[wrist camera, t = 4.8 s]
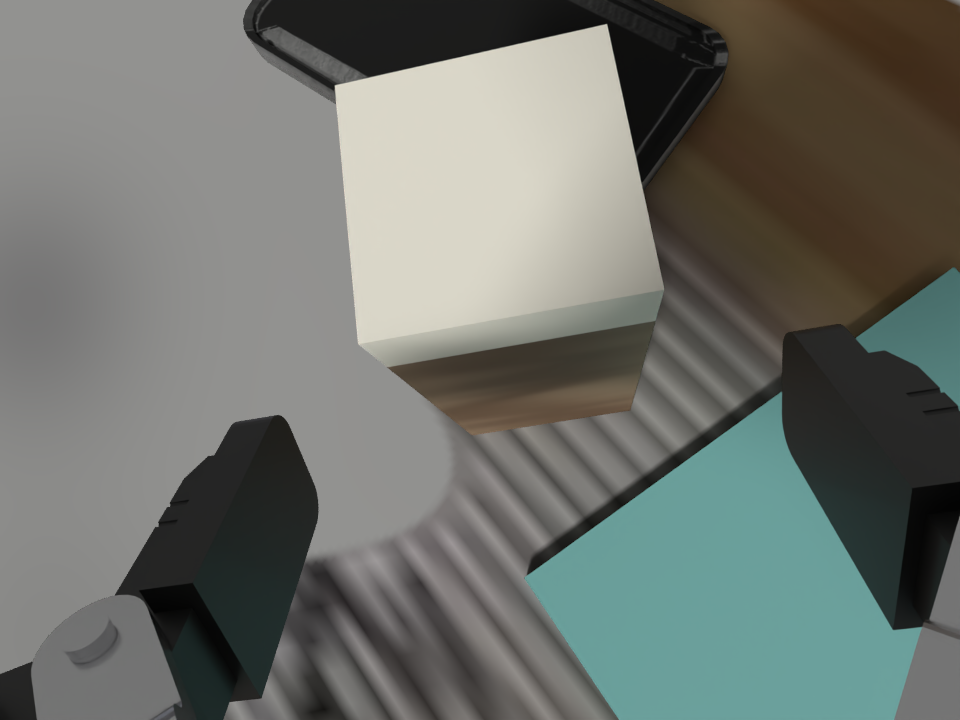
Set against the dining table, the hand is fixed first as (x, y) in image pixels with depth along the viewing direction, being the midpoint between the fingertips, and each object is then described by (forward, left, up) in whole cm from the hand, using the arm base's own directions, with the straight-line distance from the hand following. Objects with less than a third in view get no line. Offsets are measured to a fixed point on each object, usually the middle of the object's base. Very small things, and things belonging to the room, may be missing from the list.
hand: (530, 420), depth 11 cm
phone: (-13, +6, -9) cm, 17 cm away
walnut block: (-3, +2, -8) cm, 9 cm away
